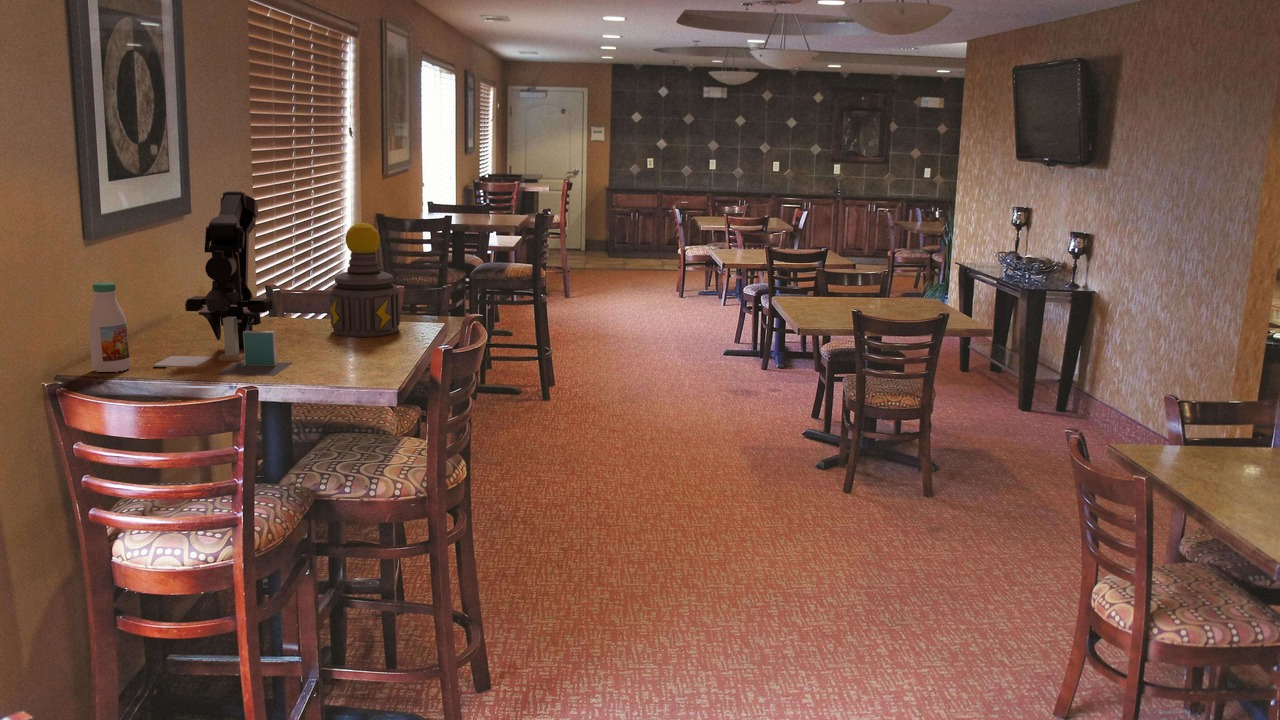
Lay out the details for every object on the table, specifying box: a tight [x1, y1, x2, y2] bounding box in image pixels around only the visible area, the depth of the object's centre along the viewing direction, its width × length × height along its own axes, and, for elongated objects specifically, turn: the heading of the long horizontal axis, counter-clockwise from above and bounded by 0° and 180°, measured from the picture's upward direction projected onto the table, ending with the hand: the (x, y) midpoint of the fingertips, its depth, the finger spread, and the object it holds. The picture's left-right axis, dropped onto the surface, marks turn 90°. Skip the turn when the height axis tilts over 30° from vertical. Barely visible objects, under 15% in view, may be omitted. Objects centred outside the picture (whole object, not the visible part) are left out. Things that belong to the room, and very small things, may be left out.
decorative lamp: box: [329, 222, 401, 338], centre depth 283 cm, size 19×19×30 cm
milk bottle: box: [88, 281, 131, 373], centre depth 234 cm, size 8×8×20 cm
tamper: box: [218, 317, 245, 362], centre depth 247 cm, size 4×5×10 cm
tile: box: [243, 330, 278, 366], centre depth 241 cm, size 2×7×8 cm, turn 90°
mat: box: [217, 361, 293, 377], centre depth 239 cm, size 13×13×1 cm
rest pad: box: [152, 355, 214, 368], centre depth 244 cm, size 10×10×1 cm
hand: (231, 340), depth 247 cm, fingers open, 6 cm apart
